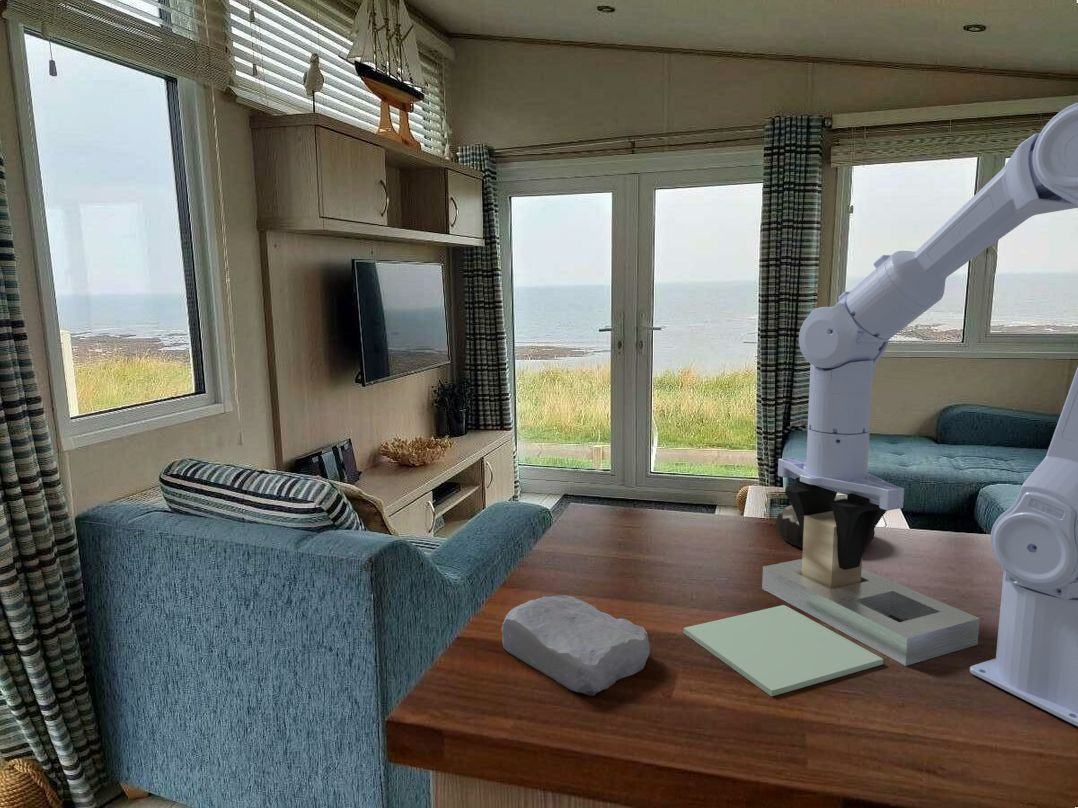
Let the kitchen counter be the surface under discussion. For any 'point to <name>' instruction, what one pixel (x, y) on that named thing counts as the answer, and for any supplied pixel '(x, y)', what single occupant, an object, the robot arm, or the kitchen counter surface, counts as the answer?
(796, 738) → the kitchen counter surface
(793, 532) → the donut
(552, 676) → the stone block
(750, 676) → the mat
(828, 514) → the peg
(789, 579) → the rail
